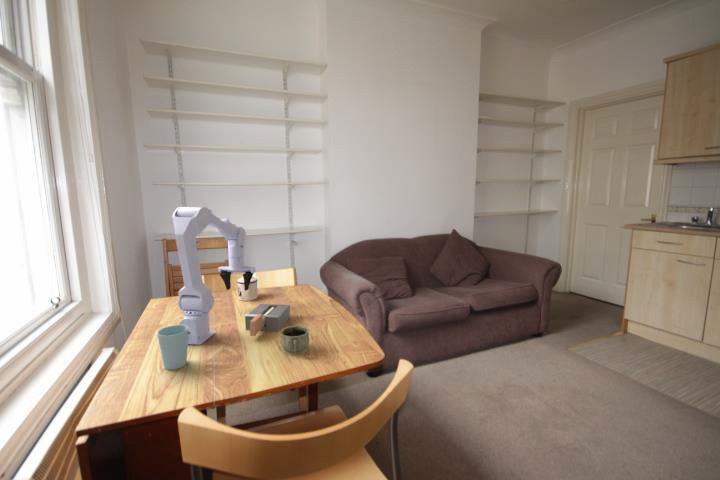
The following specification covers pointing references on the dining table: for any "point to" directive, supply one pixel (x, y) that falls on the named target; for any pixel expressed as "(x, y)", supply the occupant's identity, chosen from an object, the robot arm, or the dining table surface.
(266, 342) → the dining table surface
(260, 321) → the cream pillar on pink
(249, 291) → the teacup with lid
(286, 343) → the vessel
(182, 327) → the cup
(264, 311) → the dispenser
